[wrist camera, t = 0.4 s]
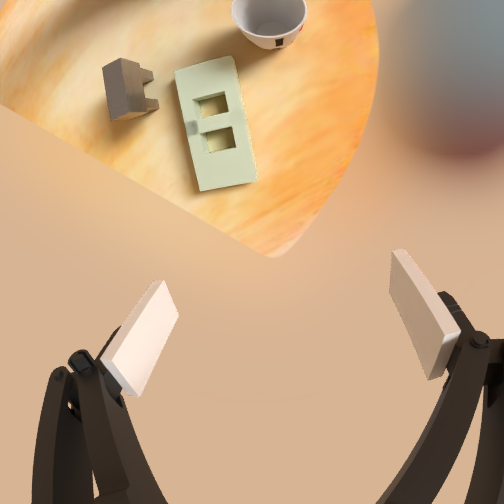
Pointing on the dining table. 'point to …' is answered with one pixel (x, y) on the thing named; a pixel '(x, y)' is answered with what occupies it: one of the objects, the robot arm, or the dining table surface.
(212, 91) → the block with rectangular hole
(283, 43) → the cup
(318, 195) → the dining table surface
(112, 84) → the grey foam block
